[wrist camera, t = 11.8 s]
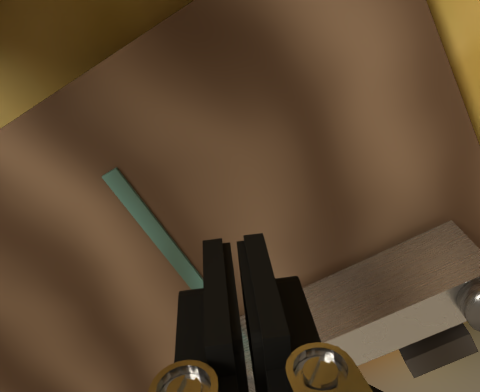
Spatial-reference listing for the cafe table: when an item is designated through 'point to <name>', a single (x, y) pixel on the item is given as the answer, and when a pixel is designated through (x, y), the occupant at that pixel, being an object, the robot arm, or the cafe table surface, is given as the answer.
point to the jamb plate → (223, 177)
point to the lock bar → (395, 296)
